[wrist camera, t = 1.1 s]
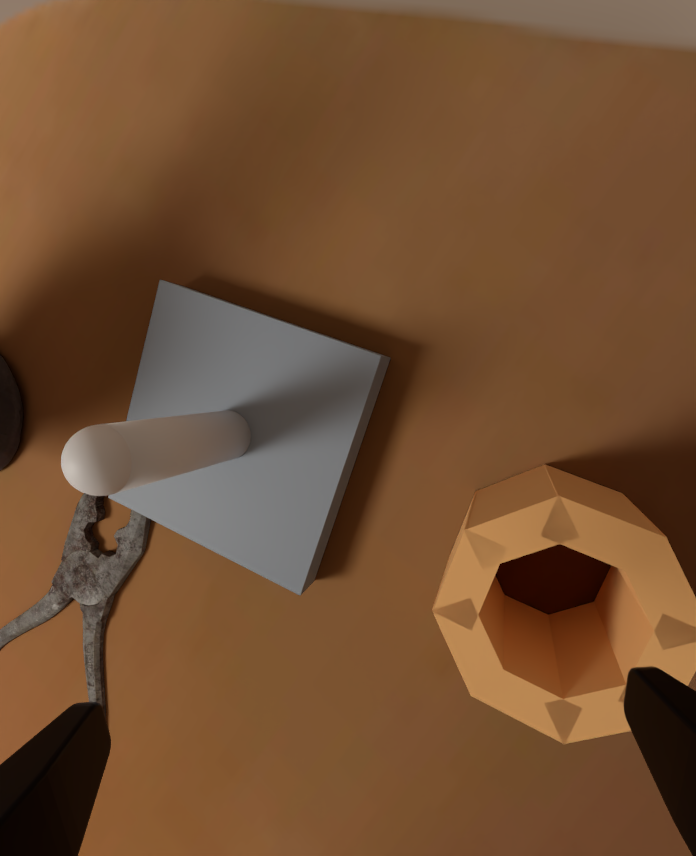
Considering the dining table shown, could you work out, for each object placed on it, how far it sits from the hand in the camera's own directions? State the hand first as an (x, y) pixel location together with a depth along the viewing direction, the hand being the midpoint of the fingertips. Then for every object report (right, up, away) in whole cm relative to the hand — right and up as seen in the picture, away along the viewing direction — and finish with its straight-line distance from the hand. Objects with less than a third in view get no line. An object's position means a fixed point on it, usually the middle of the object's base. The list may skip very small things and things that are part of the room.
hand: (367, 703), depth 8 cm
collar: (+7, 0, +9) cm, 12 cm away
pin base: (-5, +5, +13) cm, 14 cm away
